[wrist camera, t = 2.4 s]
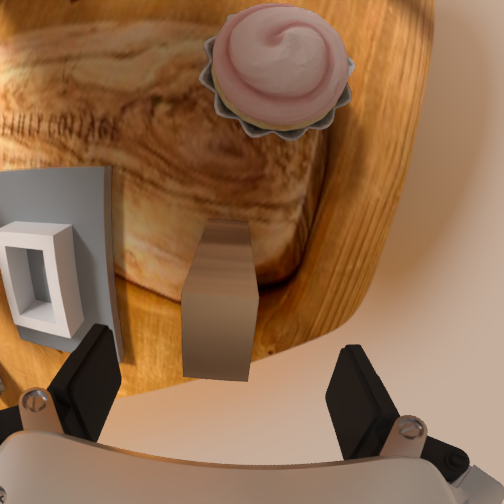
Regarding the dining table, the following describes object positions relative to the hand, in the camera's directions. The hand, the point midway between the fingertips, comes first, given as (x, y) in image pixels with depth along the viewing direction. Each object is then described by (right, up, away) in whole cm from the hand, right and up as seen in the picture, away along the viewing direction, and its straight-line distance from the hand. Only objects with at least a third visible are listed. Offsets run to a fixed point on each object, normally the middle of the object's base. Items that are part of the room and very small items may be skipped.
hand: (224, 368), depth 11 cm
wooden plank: (-1, +5, +12) cm, 13 cm away
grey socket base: (-17, +3, +12) cm, 21 cm away
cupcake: (+2, +17, +8) cm, 19 cm away
